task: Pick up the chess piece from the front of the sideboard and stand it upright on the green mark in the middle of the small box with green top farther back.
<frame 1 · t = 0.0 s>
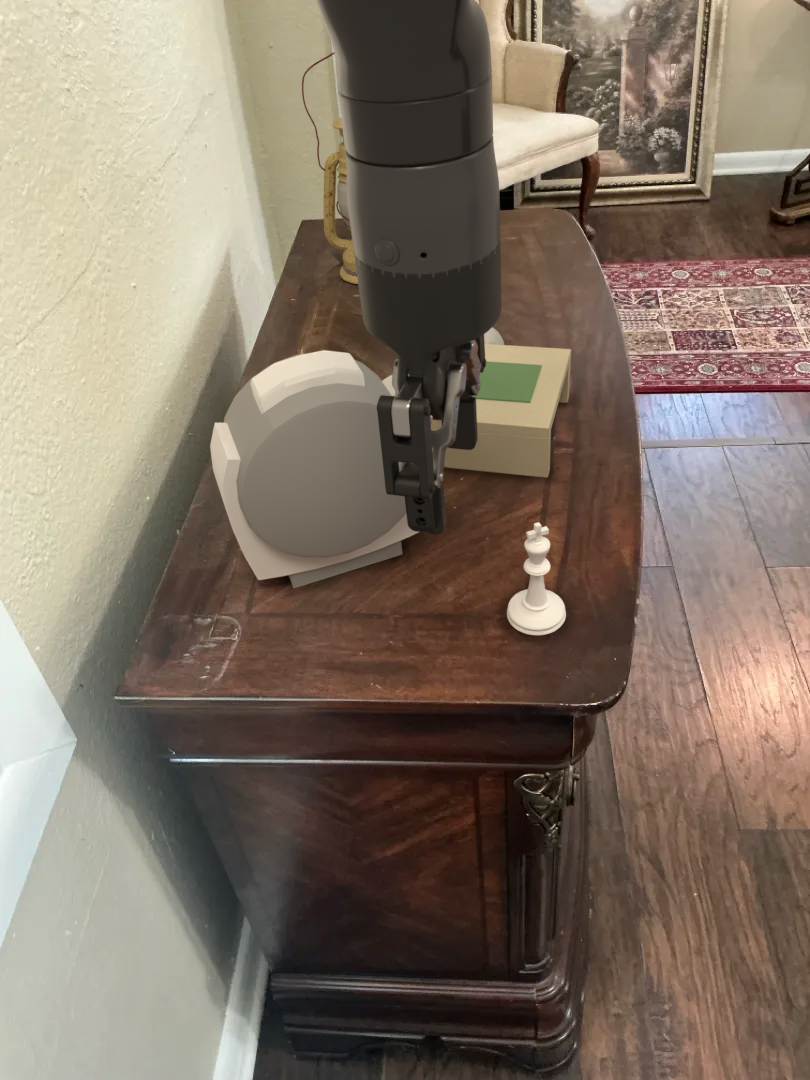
hand: (445, 485, 55), 20 cm above the table, tool pointing down, fingers open, 8 cm apart
box with green top: (503, 429, 93), on the table
chess piece: (536, 615, 73), on the table
alarm clock: (341, 555, 81), on the table
sneaker: (439, 343, 109), on the table
lantern: (371, 273, 126), on the table
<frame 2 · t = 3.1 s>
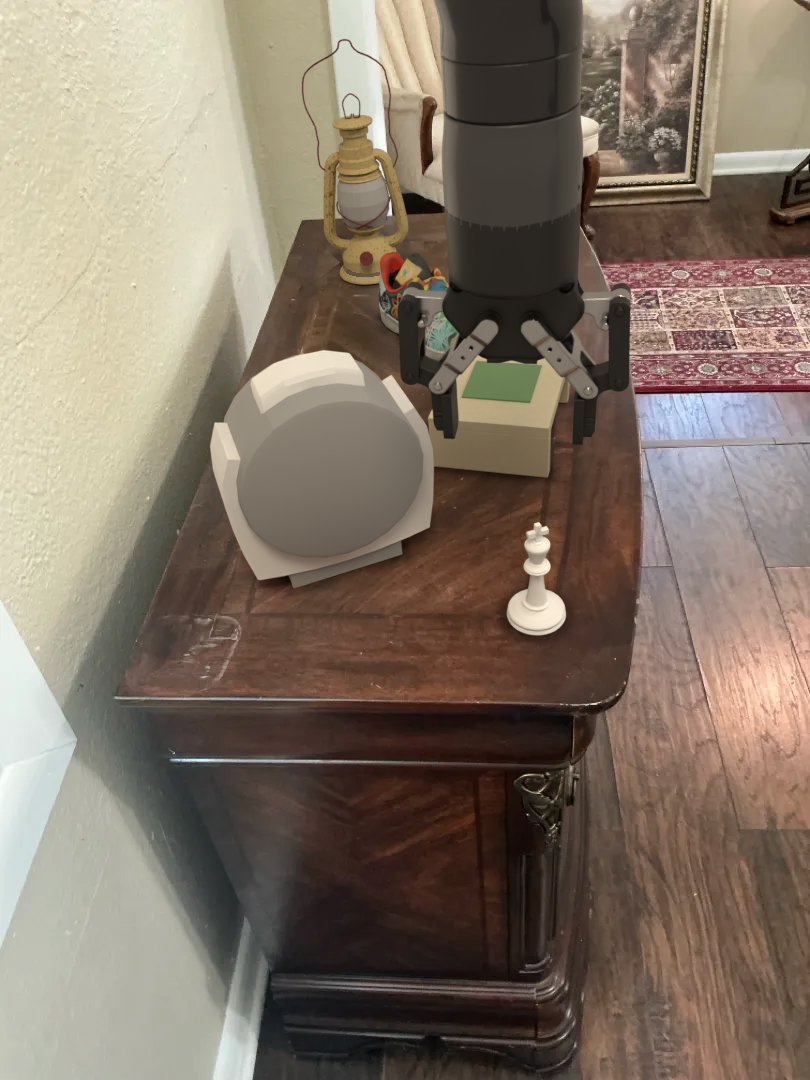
hand: (514, 435, 58), 20 cm above the table, tool pointing down, fingers open, 8 cm apart
nothing on the table moved.
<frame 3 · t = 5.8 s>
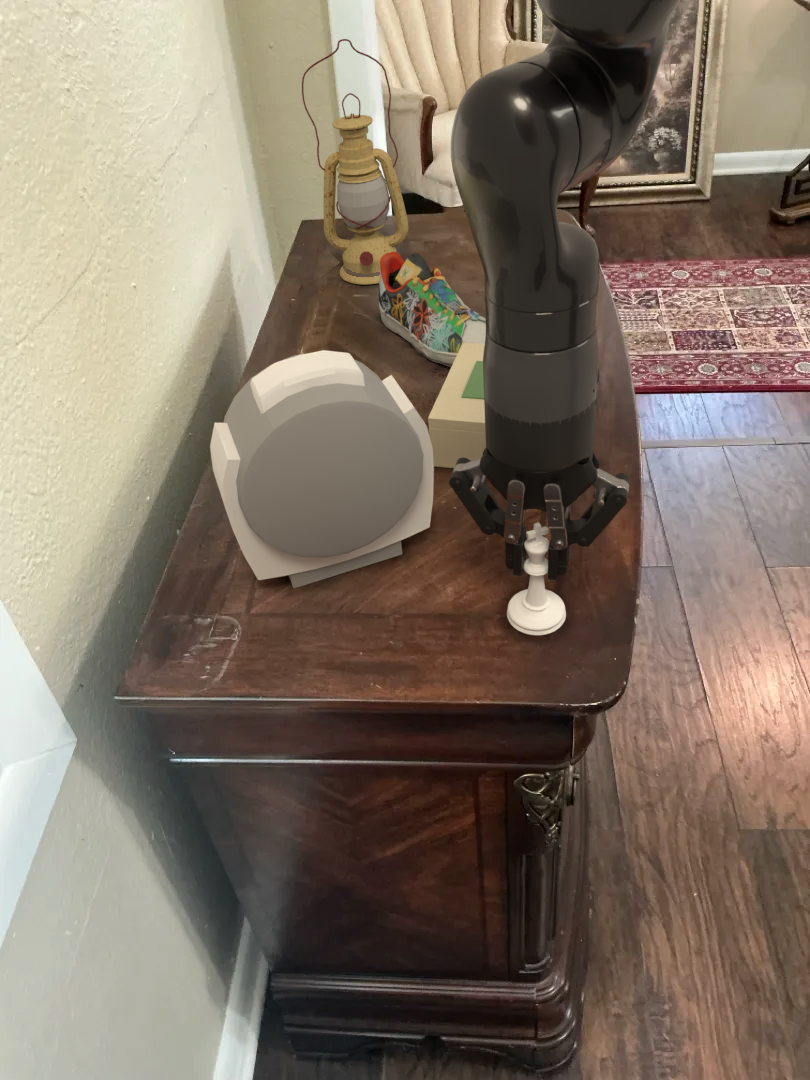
hand: (537, 571, 69), 5 cm above the table, tool pointing down, fingers closed on chess piece
chess piece: (536, 615, 73), on the table, touching gripper
everything else where it was.
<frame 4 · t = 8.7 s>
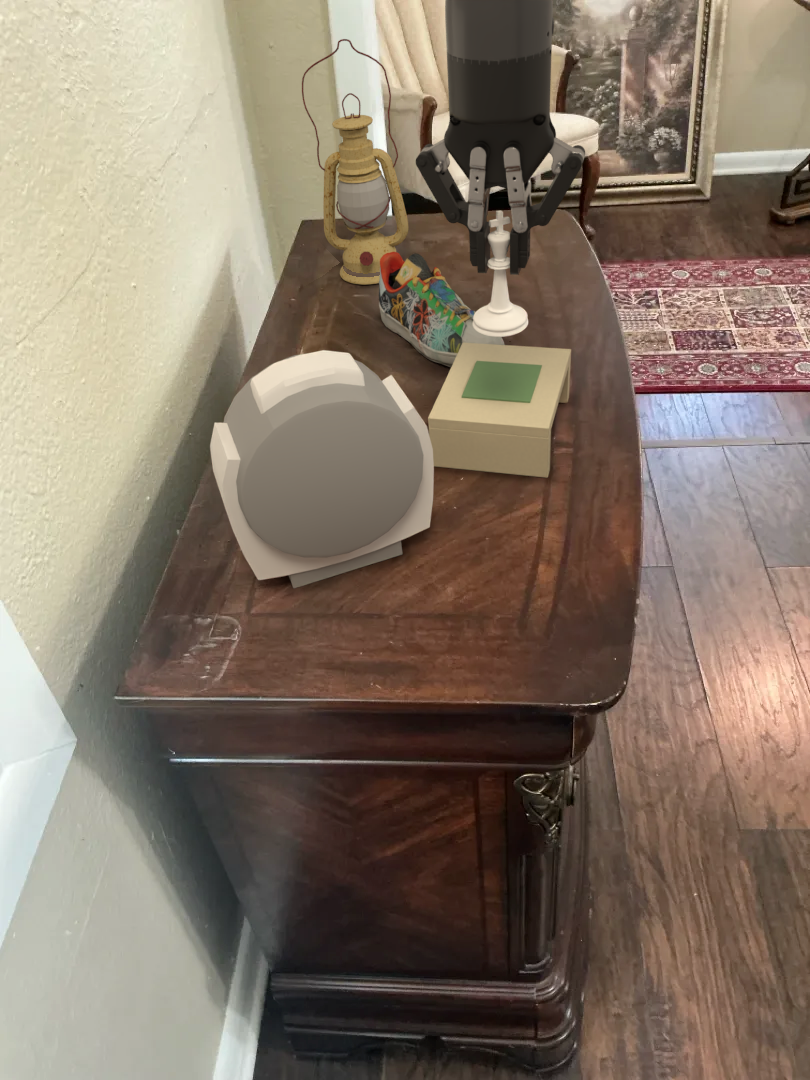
hand: (500, 269, 73), 22 cm above the table, tool pointing down, fingers closed on chess piece
chess piece: (500, 325, 77), point 16 cm above the table, touching gripper
everything else where it was.
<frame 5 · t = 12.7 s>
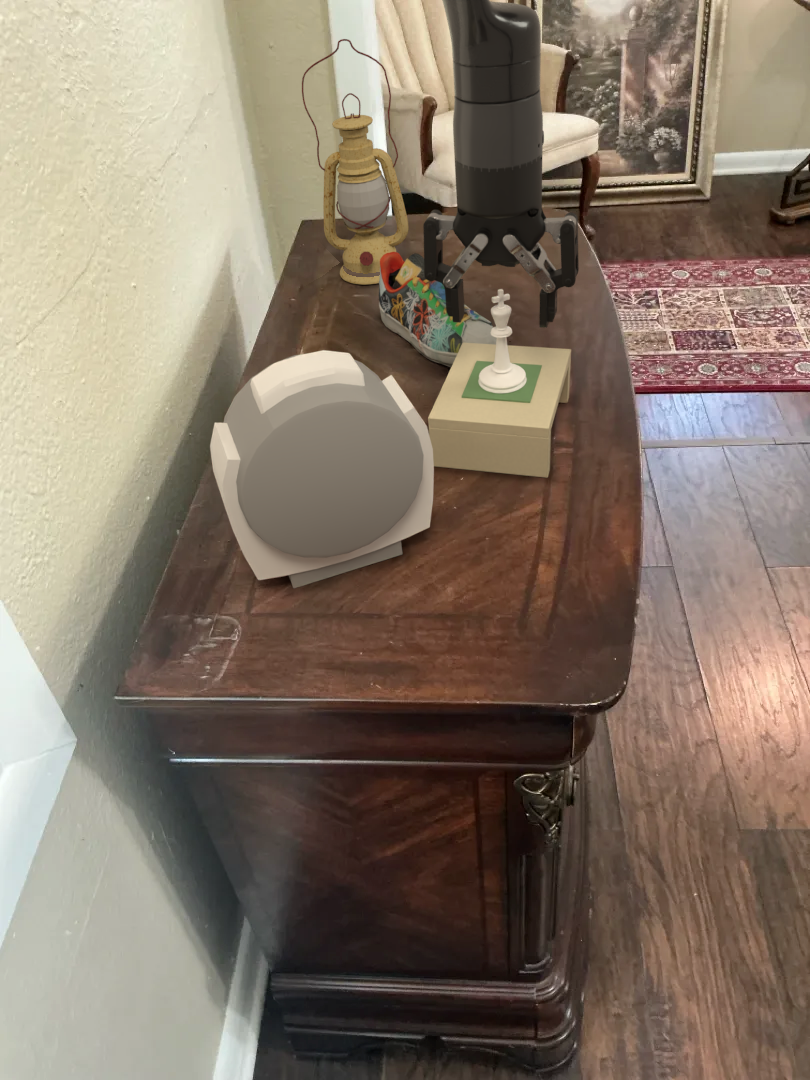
hand: (501, 321, 85), 13 cm above the table, tool pointing down, fingers open, 8 cm apart
chess piece: (502, 382, 89), point 6 cm above the table, touching box with green top
everything else where it was.
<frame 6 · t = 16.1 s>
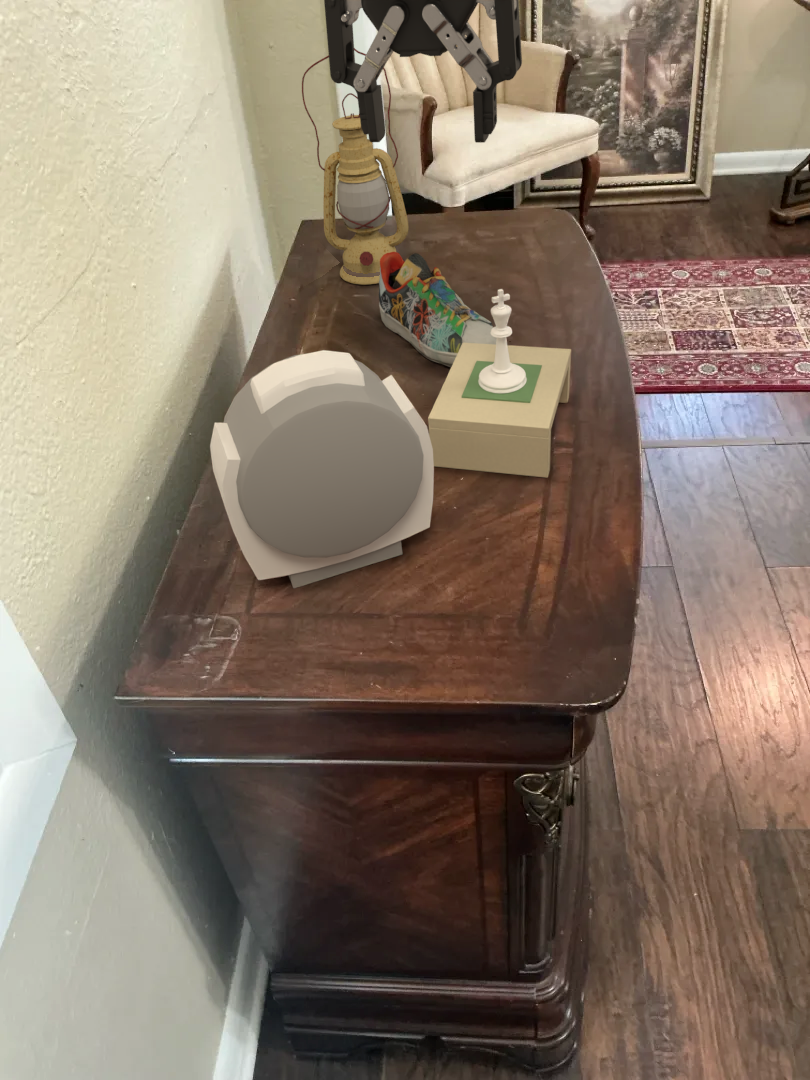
hand: (429, 139, 68), 32 cm above the table, tool pointing down, fingers open, 8 cm apart
nothing on the table moved.
at the end: chess piece inside the target area on the box with green top (0.1 cm from its centre), point 6.0 cm above the box with green top's base; chess piece tilted 0°; the gripper is holding nothing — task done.
